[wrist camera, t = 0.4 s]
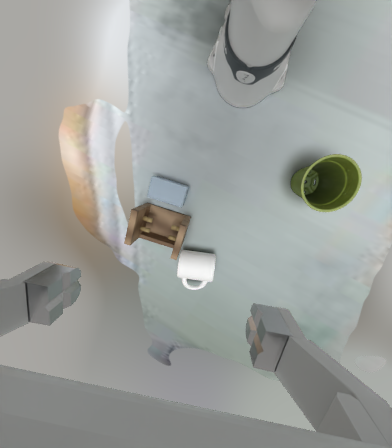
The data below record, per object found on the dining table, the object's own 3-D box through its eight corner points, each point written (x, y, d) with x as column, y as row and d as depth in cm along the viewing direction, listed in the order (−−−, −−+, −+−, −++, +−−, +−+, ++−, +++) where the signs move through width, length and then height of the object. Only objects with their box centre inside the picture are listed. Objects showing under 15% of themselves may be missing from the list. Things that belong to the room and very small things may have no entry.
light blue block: (157, 176, 51) (151, 176, 46) (189, 186, 51) (187, 187, 46) (152, 194, 52) (147, 196, 47) (183, 204, 52) (181, 207, 48)
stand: (147, 202, 53) (131, 209, 42) (190, 216, 53) (186, 226, 42) (140, 230, 55) (124, 243, 45) (182, 243, 55) (176, 259, 45)
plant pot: (275, 171, 48) (294, 169, 37) (320, 151, 46) (354, 143, 35) (288, 211, 51) (310, 220, 40) (332, 193, 49) (367, 198, 38)
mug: (182, 245, 56) (178, 256, 48) (214, 249, 55) (216, 261, 48) (179, 279, 59) (174, 295, 51) (209, 284, 58) (209, 300, 51)
